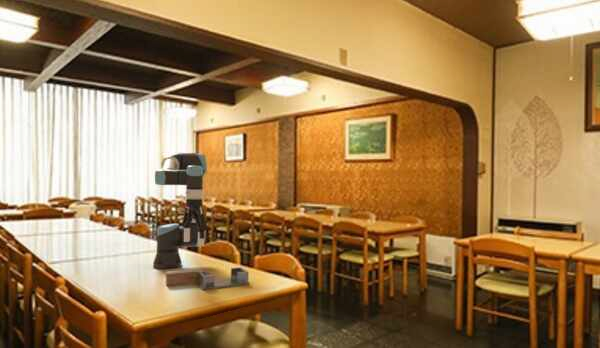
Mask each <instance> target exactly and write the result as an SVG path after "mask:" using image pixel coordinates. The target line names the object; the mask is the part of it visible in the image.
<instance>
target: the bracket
mask: <svg viewBox="0 0 600 348" xmlns="http://www.w3.org/2000/svg"><path fill="white" fill-rule="evenodd" d="M249 273H250V272H249V271H248V270H247V269H245V268H243V267H238V266H237V267H231V268H230V277H229V278H223V279H222V278H220V279H215V277H216V276H215V274H210V270H202V271H198V282H197V284H196V286H198V287H199V288H200V289H201V290H202V291H207V290H208V291H209V290H215V289H216V290H217V289H223V288H224V289H225V288H233V287H241V286H243V287H244V286H249V285H250V281H249Z"/></svg>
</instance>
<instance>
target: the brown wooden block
mask: <svg viewBox="0 0 600 348" xmlns="http://www.w3.org/2000/svg"><path fill="white" fill-rule="evenodd" d="M198 271H203V270H202V268H195V269H194V268H193V269H182V270H170V271H168V270H167V271H166V272H165V286H166V287H169V288H170V287H178V286H179V287H180V286H188V285H197V282H198Z"/></svg>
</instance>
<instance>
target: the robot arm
mask: <svg viewBox="0 0 600 348" xmlns="http://www.w3.org/2000/svg"><path fill="white" fill-rule="evenodd" d="M160 165H161V169H156V170H155V171H154V183H155V185H156V186H185V187H186V189H185V190H186V191H185V195H186V197H185V198H186V199H185V208H184V213H183V218H182V221H181V225H180V224H179V223H169V224H168V223H167V224H163V225H160V226H158V227H157V231H156V232H157V233H156V253H155V256H154V260H153V263H152V266H153V268H155V269H161V270H167V269H168V270H169V269H177V268H179V267H181V266H182V264H183V263H182V259H181V256H180V253H179V250H180V249H179V248H186V247H191V248H192V247H193V248H194V247H195V248H196V247H202V246H205V240H206V234H207V230H208V226H207V222H206V217H205V210H204V209H202V207H203V204H204V203H203V202H204V201H203V194H204V192H203V191H204V190H203V186H204V185H203V184H204V177H205V174H207V172H208V167H207V159H206V155H205V154H203V153H199V152H198V153H197V152H174V153H171V154H169V155H166V156H165V157H164V158H163V159H162V161H161V164H160Z"/></svg>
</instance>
